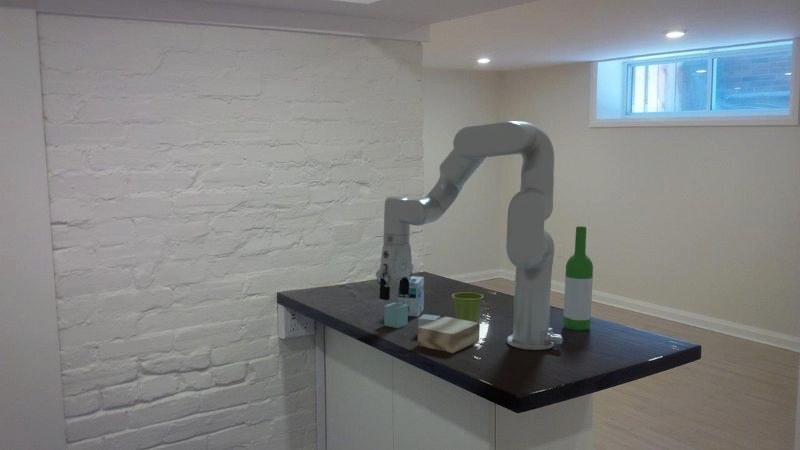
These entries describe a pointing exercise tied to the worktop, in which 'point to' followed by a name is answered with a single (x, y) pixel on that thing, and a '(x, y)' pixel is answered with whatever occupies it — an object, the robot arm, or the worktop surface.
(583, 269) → the wine bottle
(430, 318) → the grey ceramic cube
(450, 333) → the oak pedestal
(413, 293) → the light bulb box
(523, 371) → the worktop surface
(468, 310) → the plant pot
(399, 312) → the teal block
